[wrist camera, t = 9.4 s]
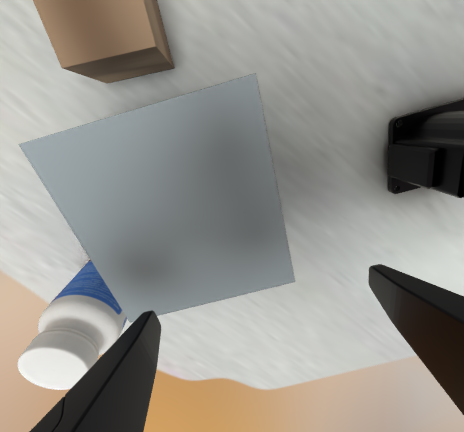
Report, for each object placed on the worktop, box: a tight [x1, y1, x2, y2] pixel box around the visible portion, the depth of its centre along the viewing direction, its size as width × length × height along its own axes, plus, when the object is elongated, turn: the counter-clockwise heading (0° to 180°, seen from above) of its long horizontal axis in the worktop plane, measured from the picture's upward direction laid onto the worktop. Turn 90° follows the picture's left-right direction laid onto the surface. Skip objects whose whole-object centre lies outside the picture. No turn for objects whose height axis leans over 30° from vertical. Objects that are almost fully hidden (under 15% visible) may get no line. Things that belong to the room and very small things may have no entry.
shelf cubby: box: [19, 73, 295, 322], centre depth 16 cm, size 11×12×8 cm
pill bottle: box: [18, 259, 127, 390], centre depth 18 cm, size 6×5×10 cm
